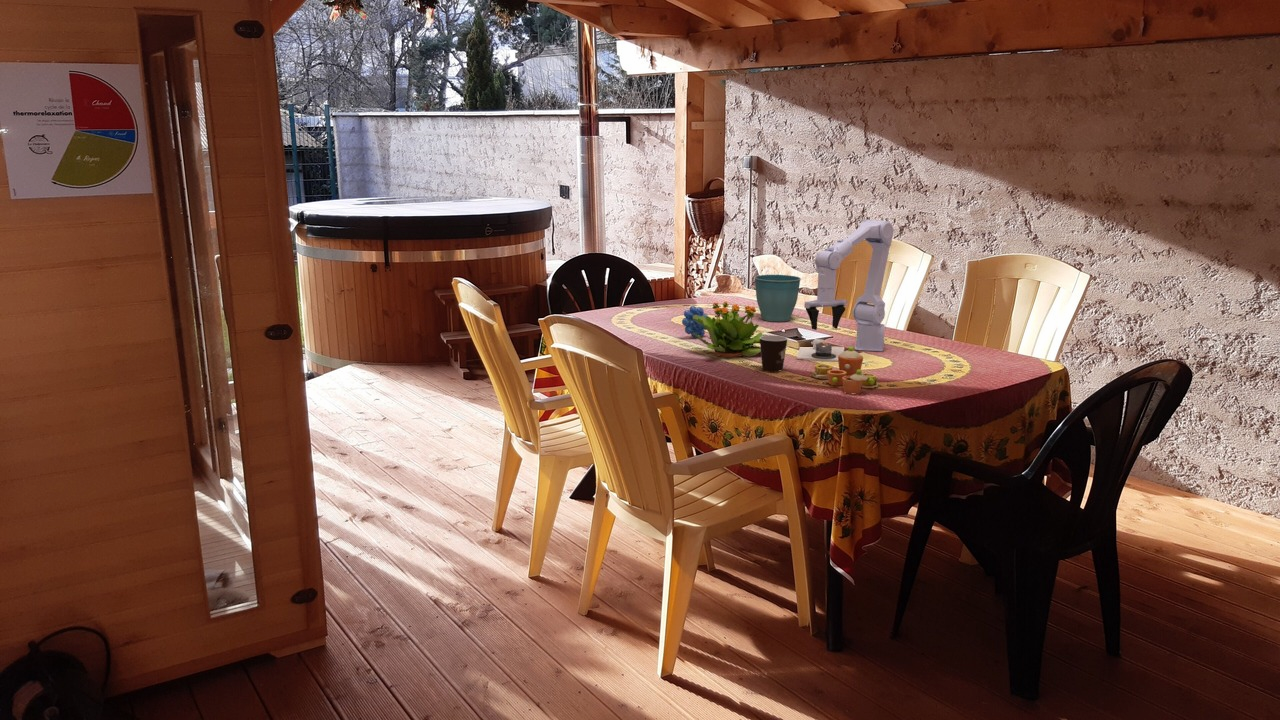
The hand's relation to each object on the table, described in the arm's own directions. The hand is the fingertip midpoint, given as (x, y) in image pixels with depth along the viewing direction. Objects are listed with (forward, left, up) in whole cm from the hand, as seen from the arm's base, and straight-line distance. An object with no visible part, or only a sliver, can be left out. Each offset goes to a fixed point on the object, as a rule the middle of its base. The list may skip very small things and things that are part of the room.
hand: (824, 328), depth 312 cm
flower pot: (+21, -63, -10) cm, 68 cm away
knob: (0, 0, -9) cm, 9 cm away
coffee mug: (+14, +19, -10) cm, 25 cm away
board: (+1, -5, -10) cm, 11 cm away
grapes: (+46, -20, -10) cm, 51 cm away
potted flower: (+32, +3, -10) cm, 34 cm away
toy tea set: (-9, +32, -10) cm, 35 cm away
